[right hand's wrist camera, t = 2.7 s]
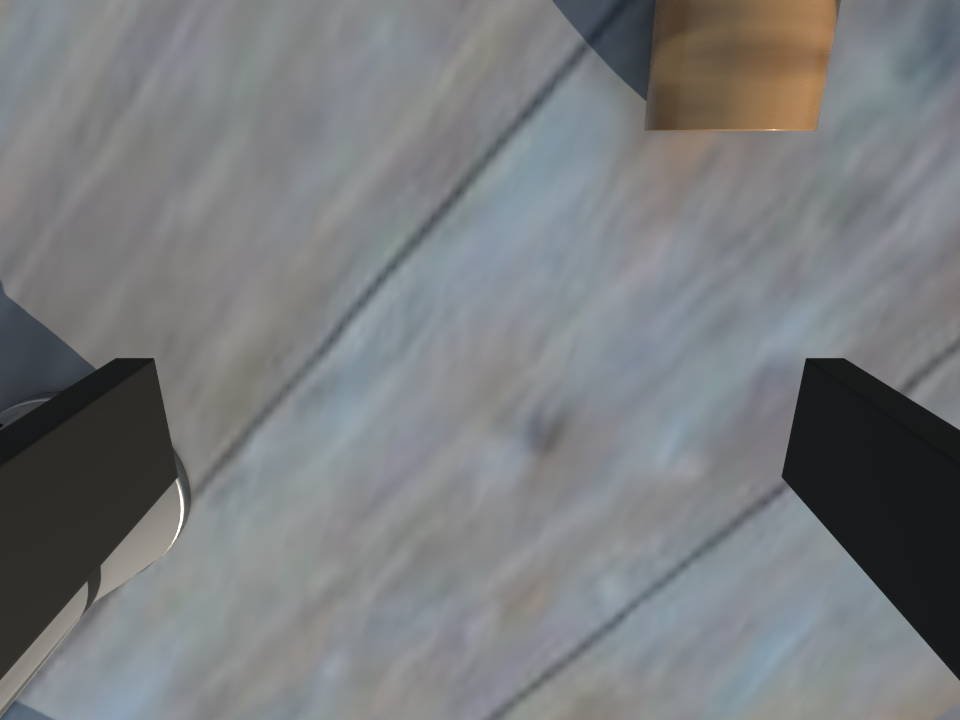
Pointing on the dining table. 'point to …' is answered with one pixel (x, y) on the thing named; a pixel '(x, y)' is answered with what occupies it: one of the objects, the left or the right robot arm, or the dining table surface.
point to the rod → (739, 64)
